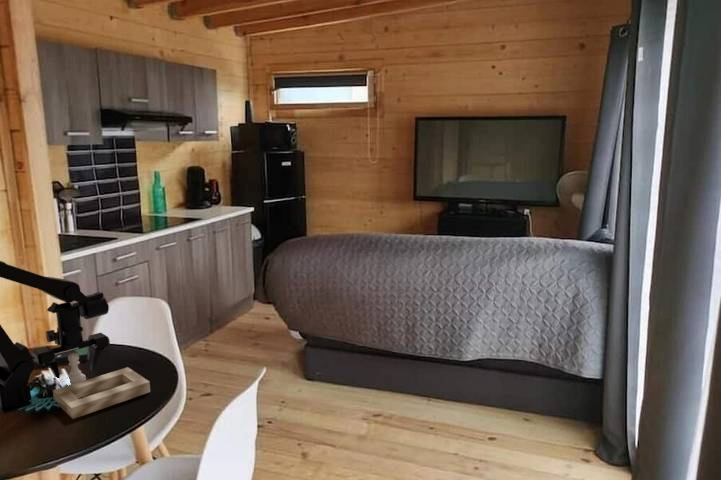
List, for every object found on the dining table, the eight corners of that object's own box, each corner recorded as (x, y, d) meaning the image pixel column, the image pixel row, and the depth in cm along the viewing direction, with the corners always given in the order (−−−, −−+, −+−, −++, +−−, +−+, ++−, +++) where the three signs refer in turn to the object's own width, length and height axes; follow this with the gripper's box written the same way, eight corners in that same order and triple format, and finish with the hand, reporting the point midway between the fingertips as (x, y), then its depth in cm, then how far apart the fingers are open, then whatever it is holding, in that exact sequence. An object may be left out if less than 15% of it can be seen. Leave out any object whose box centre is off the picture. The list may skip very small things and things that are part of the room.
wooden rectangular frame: (72, 419, 136) (71, 408, 135) (54, 400, 146) (52, 390, 145) (150, 391, 150) (149, 381, 149) (128, 376, 160) (127, 367, 159)
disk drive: (35, 370, 167) (89, 361, 172) (34, 361, 166) (88, 353, 171) (41, 357, 176) (92, 350, 181) (40, 349, 176) (91, 342, 181)
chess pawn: (87, 378, 159) (84, 349, 157) (84, 385, 154) (80, 355, 152) (68, 380, 158) (65, 351, 156) (64, 388, 153) (60, 357, 151)
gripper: (93, 309, 165) (98, 358, 168) (23, 325, 152) (30, 378, 154) (107, 318, 157) (113, 369, 160) (35, 335, 144) (42, 390, 147)
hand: (75, 376), depth 155 cm, fingers open, 9 cm apart
